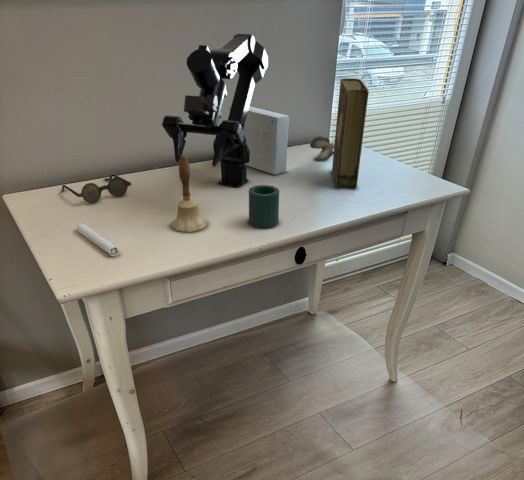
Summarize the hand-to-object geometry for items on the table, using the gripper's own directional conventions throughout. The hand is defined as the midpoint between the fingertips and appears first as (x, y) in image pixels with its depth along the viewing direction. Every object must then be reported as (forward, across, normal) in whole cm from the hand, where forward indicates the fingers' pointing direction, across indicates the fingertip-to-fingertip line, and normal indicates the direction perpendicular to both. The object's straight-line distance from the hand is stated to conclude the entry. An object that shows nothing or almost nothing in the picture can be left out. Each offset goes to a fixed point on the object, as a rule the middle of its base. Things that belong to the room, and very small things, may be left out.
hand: (194, 163), depth 115 cm
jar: (+8, +16, +10) cm, 21 cm away
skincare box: (-21, +2, +39) cm, 44 cm away
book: (-18, +30, +36) cm, 50 cm away
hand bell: (+13, 0, +5) cm, 14 cm away
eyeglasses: (+5, -33, +14) cm, 36 cm away
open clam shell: (-32, +20, +50) cm, 62 cm away
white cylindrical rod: (+24, -16, -5) cm, 29 cm away
